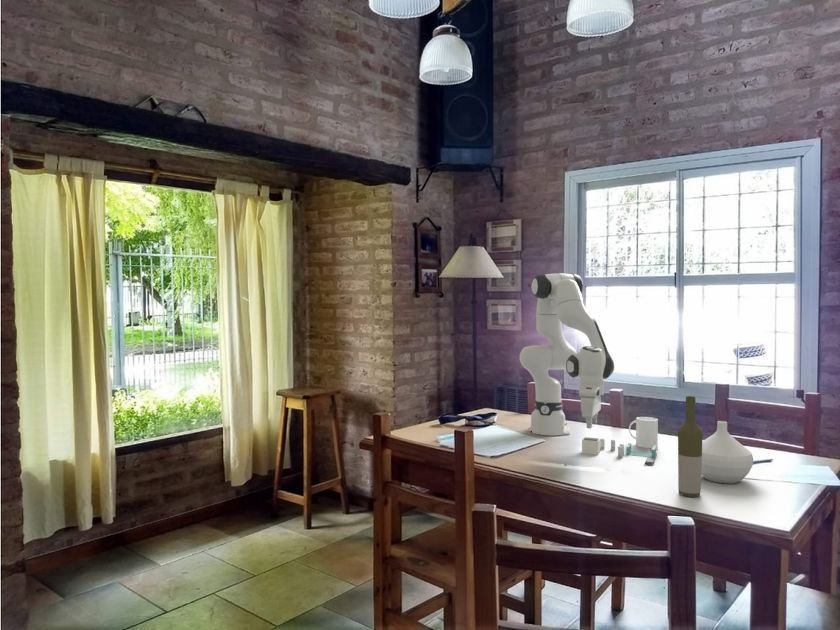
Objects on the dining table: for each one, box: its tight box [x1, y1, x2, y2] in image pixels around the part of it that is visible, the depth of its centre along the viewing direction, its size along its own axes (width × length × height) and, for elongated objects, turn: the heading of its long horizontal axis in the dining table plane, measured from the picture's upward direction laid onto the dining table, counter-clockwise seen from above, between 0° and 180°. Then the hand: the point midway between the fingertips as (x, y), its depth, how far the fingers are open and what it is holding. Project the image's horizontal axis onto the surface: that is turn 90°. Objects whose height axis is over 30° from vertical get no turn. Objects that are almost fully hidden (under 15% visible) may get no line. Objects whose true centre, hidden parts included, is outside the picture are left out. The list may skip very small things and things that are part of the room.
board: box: [581, 438, 658, 466], centre depth 234 cm, size 15×26×5 cm, turn 65°
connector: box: [581, 436, 601, 456], centre depth 235 cm, size 4×6×5 cm, turn 64°
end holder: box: [625, 442, 657, 458], centre depth 233 cm, size 7×10×3 cm
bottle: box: [677, 396, 704, 498], centre depth 188 cm, size 7×7×30 cm
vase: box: [701, 420, 754, 484], centre depth 204 cm, size 18×18×19 cm
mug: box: [628, 416, 659, 452], centre depth 247 cm, size 12×8×12 cm
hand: (591, 425), depth 234 cm, fingers open, 8 cm apart
